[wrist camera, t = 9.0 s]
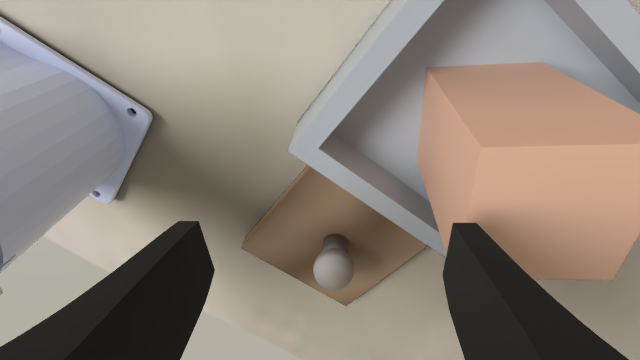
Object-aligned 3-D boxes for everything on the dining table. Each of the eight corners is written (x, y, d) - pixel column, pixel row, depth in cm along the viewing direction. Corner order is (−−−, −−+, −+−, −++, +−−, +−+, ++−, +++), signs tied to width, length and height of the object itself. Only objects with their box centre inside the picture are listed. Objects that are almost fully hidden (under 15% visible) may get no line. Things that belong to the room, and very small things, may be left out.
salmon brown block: (417, 161, 18) (453, 277, 12) (426, 67, 16) (480, 147, 9) (514, 159, 18) (612, 280, 11) (541, 61, 15) (692, 142, 8)
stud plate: (245, 237, 24) (225, 289, 20) (322, 147, 19) (314, 192, 16) (346, 295, 26) (345, 350, 22) (434, 226, 22) (451, 281, 18)
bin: (298, 121, 18) (287, 151, 16) (477, -114, 13) (515, -136, 10) (462, 237, 22) (479, 280, 19) (662, 95, 16) (730, 124, 13)
